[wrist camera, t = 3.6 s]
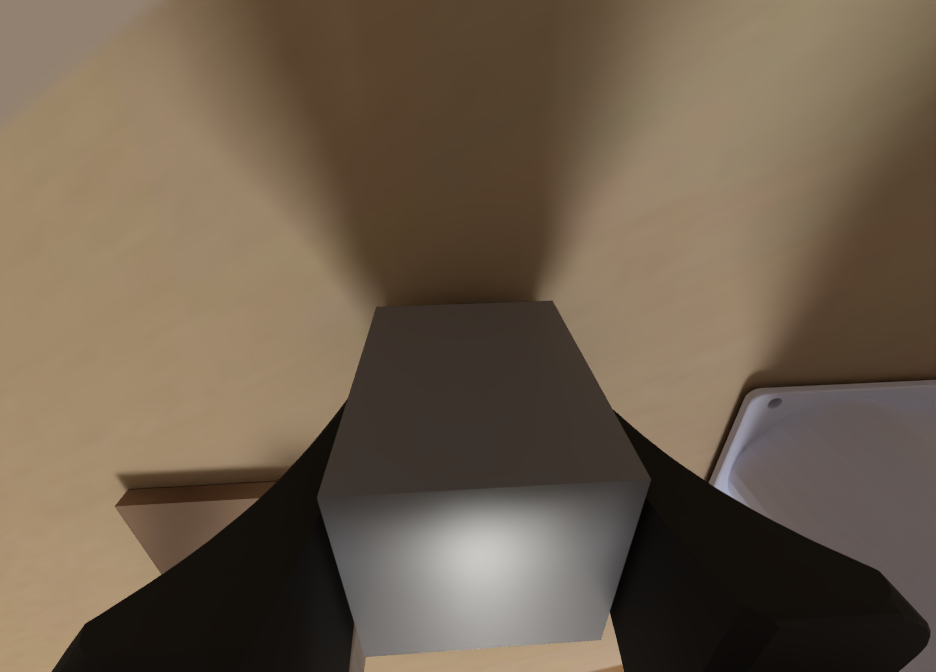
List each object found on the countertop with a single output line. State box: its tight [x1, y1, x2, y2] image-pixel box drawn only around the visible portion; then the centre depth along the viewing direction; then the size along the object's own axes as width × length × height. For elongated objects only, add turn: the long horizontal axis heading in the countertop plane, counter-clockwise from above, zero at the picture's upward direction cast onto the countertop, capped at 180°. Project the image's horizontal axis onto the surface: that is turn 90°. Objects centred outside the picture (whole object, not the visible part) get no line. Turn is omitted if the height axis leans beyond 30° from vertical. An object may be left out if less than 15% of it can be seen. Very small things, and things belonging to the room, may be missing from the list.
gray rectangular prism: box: [317, 301, 651, 657], centre depth 10 cm, size 5×5×7 cm
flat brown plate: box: [115, 482, 366, 672], centre depth 18 cm, size 16×12×6 cm
